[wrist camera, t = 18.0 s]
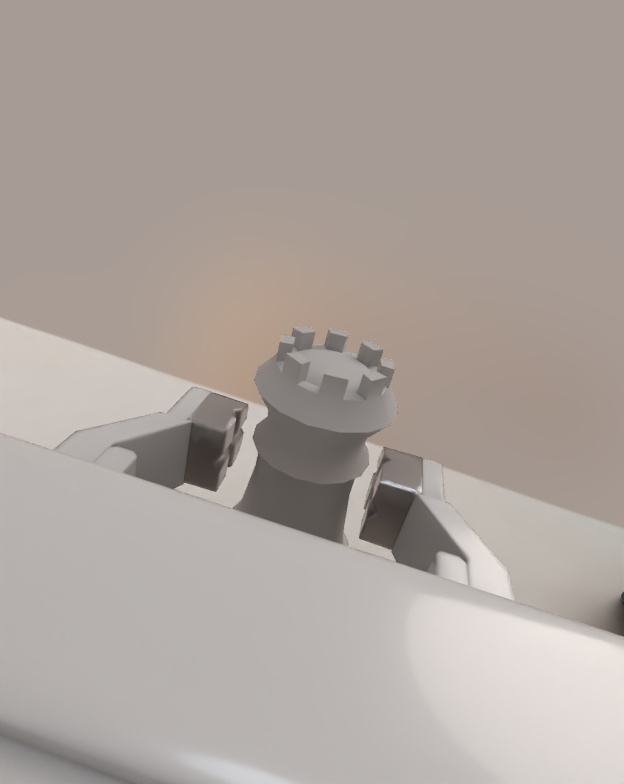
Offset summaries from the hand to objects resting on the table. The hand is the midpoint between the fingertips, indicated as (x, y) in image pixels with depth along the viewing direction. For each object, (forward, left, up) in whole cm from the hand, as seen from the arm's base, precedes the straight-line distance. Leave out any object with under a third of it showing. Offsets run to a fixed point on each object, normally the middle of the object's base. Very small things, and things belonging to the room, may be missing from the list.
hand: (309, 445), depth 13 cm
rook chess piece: (0, -1, -5) cm, 5 cm away
